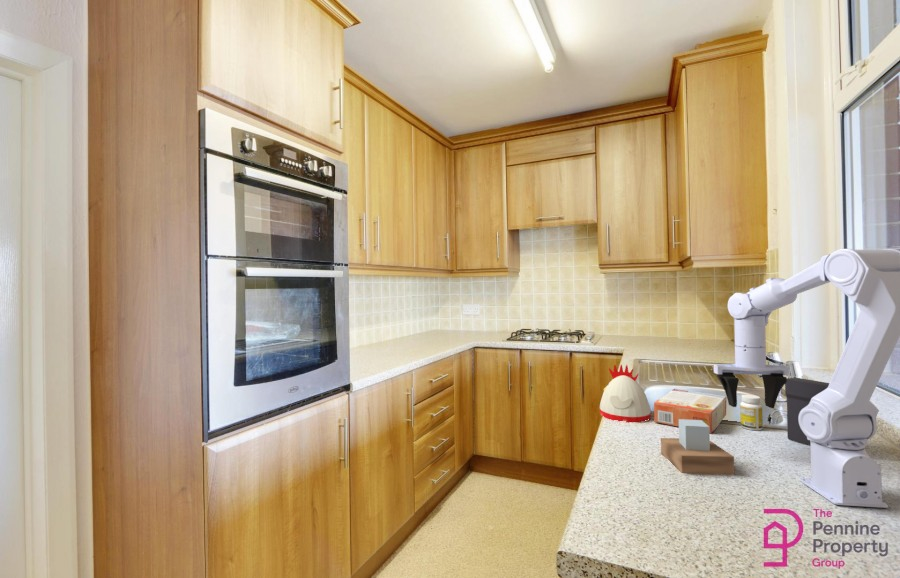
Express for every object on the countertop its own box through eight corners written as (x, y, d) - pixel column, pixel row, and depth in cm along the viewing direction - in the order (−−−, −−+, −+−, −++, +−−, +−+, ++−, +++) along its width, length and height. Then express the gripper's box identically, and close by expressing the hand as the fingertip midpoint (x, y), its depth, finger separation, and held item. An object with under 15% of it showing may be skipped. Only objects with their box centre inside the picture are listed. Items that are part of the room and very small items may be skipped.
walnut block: (734, 476, 83) (734, 456, 83) (682, 475, 84) (681, 455, 84) (707, 456, 93) (707, 438, 93) (661, 455, 94) (660, 438, 94)
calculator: (852, 453, 93) (851, 386, 93) (841, 456, 91) (840, 387, 91) (796, 437, 103) (795, 376, 103) (785, 439, 101) (784, 378, 101)
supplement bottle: (755, 425, 112) (754, 394, 112) (767, 431, 108) (766, 398, 108) (736, 424, 113) (736, 394, 113) (747, 430, 108) (746, 398, 108)
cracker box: (711, 435, 106) (727, 415, 121) (711, 412, 106) (727, 394, 121) (653, 423, 115) (674, 406, 131) (652, 401, 115) (674, 387, 131)
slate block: (709, 451, 86) (709, 426, 86) (685, 449, 87) (685, 425, 87) (701, 443, 90) (701, 420, 90) (679, 441, 91) (678, 419, 91)
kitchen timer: (604, 406, 132) (604, 359, 132) (652, 412, 125) (651, 362, 125) (595, 418, 120) (594, 366, 121) (647, 425, 113) (647, 370, 113)
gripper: (774, 344, 97) (775, 402, 97) (707, 343, 99) (708, 400, 99) (794, 348, 90) (795, 411, 90) (721, 347, 92) (722, 409, 92)
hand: (751, 406), depth 94 cm, fingers open, 7 cm apart
